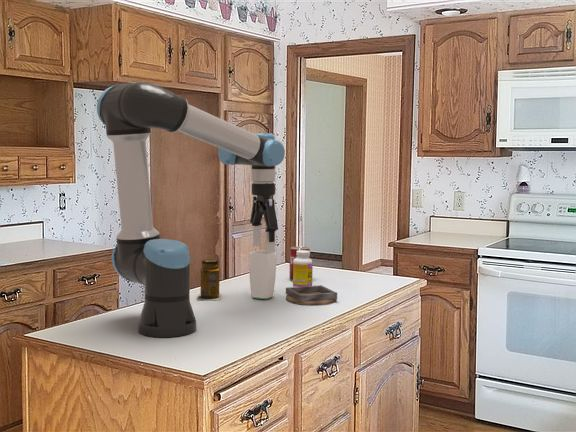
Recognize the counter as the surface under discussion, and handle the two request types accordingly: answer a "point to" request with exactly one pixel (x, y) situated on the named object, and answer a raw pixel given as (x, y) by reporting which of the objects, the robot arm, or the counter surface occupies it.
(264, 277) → the cup
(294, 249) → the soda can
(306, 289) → the dark brown tray
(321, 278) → the counter surface
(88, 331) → the counter surface
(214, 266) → the condiment
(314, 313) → the counter surface
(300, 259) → the supplement bottle
